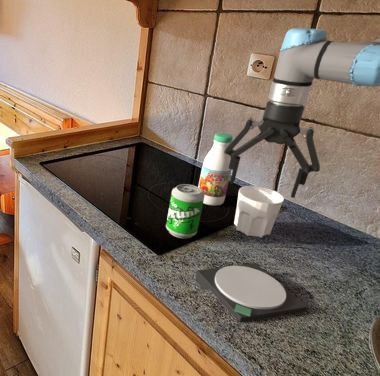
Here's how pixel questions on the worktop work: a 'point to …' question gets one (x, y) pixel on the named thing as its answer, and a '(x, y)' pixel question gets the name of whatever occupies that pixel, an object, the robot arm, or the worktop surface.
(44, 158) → the worktop surface
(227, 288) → the scale
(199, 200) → the soda can
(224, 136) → the milk bottle
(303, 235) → the worktop surface
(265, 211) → the cup
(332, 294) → the worktop surface
